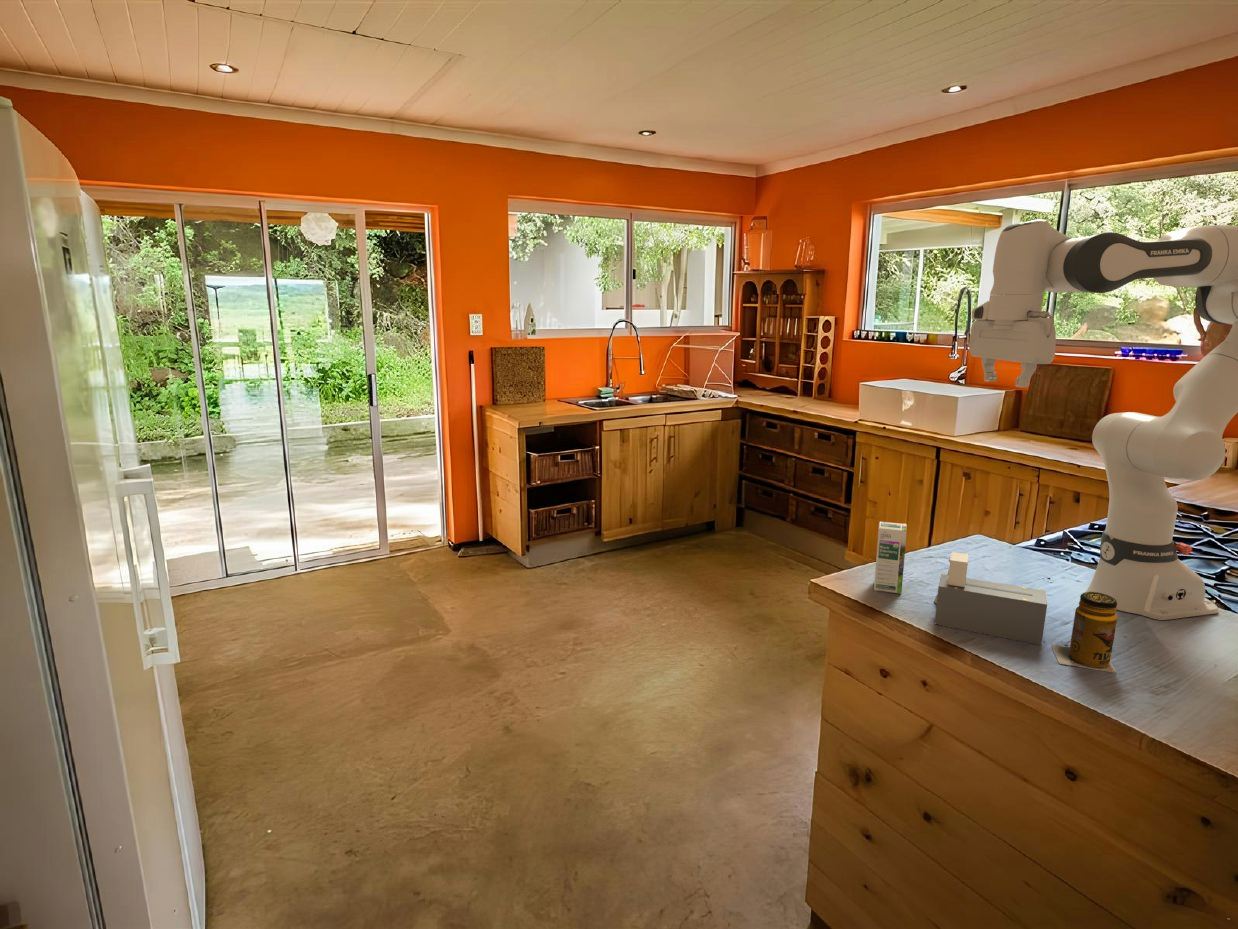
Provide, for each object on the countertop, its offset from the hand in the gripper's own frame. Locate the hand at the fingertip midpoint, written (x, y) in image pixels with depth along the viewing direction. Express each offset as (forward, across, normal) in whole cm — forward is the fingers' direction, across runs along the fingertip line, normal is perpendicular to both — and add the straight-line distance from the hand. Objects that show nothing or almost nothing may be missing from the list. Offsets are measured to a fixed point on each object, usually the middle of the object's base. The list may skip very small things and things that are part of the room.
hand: (1005, 384), depth 133 cm
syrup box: (+46, +11, +14) cm, 50 cm away
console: (+46, -10, +4) cm, 47 cm away
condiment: (+46, -23, -5) cm, 52 cm away
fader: (+38, -6, +9) cm, 39 cm away
